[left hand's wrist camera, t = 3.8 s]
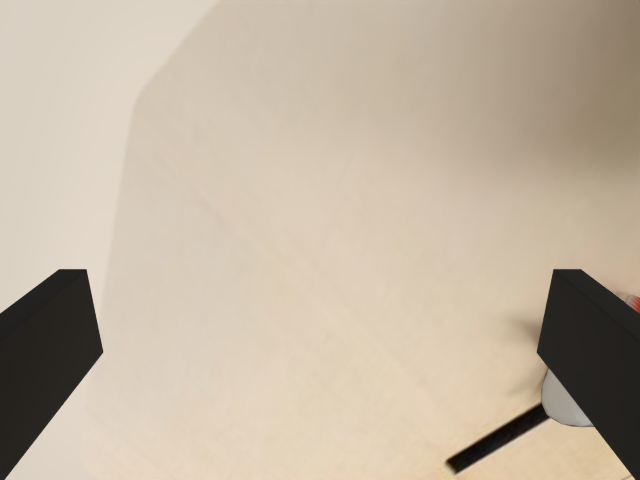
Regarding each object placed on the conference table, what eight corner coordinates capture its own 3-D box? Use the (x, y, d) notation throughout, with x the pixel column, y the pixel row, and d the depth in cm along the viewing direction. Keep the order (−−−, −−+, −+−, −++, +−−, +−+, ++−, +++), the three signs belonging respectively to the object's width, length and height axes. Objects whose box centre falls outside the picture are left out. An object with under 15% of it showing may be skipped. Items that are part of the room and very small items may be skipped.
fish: (744, 382, 40) (778, 454, 32) (562, 405, 49) (552, 466, 41) (691, 274, 40) (712, 319, 32) (519, 318, 49) (500, 361, 41)
